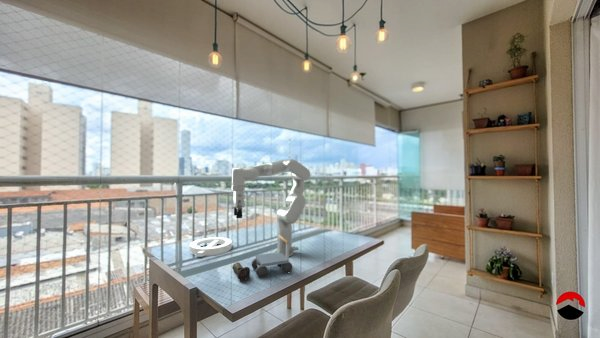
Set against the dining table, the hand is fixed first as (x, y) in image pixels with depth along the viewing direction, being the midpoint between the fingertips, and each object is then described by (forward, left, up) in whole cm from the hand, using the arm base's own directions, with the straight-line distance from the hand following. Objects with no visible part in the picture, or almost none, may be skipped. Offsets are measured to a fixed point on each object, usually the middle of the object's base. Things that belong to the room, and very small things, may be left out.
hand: (237, 216), depth 145 cm
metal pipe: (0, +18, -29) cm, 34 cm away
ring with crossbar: (+13, -34, -29) cm, 46 cm away
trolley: (-16, +18, -28) cm, 37 cm away
